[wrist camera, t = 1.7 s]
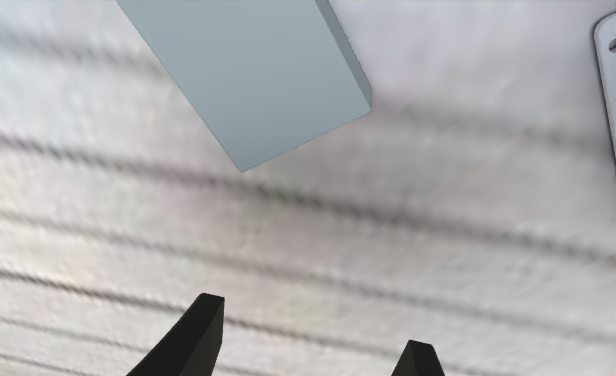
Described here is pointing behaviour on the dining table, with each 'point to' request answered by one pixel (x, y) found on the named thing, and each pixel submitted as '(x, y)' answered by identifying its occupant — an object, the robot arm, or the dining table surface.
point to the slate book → (257, 69)
